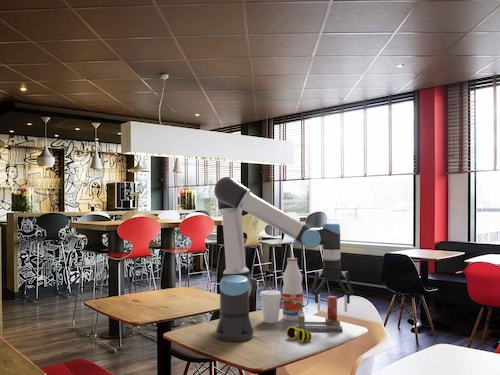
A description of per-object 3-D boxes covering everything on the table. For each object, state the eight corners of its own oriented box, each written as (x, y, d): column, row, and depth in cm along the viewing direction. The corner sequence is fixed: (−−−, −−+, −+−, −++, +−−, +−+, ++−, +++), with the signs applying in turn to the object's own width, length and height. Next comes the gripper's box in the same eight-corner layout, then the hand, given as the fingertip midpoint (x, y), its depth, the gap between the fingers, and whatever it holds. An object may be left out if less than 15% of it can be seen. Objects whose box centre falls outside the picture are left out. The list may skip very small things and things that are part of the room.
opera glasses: (312, 344, 164) (313, 330, 165) (302, 344, 161) (304, 330, 162) (294, 338, 172) (296, 325, 172) (285, 338, 168) (286, 325, 169)
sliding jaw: (327, 325, 178) (327, 298, 179) (325, 320, 186) (325, 295, 187) (339, 325, 178) (339, 299, 178) (337, 320, 186) (336, 295, 186)
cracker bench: (298, 331, 178) (298, 316, 178) (297, 325, 188) (297, 311, 188) (342, 332, 176) (342, 317, 177) (339, 325, 186) (339, 311, 187)
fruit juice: (303, 316, 203) (302, 257, 204) (302, 321, 194) (302, 259, 195) (283, 316, 204) (282, 257, 206) (281, 321, 195) (281, 259, 196)
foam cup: (265, 324, 189) (265, 294, 189) (257, 319, 197) (257, 291, 198) (284, 322, 192) (284, 293, 193) (276, 317, 201) (276, 289, 201)
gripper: (305, 259, 180) (305, 312, 179) (360, 260, 179) (361, 313, 178) (304, 258, 188) (304, 308, 187) (357, 258, 186) (358, 309, 185)
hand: (332, 311), depth 182 cm, fingers open, 11 cm apart
